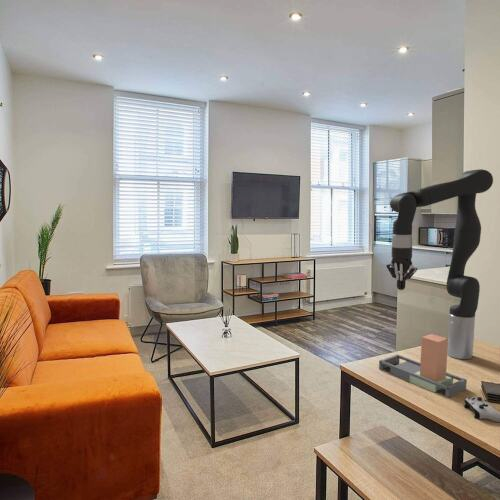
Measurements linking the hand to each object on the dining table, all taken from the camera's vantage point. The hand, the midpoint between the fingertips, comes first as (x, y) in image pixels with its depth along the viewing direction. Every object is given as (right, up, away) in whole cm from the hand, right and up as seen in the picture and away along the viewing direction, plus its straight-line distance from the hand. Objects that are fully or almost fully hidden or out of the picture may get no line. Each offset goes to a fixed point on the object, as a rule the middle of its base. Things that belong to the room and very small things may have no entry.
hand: (400, 289), depth 157 cm
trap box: (+1, -30, -15) cm, 34 cm away
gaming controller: (+10, -34, -38) cm, 51 cm away
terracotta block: (+4, -28, -19) cm, 34 cm away
